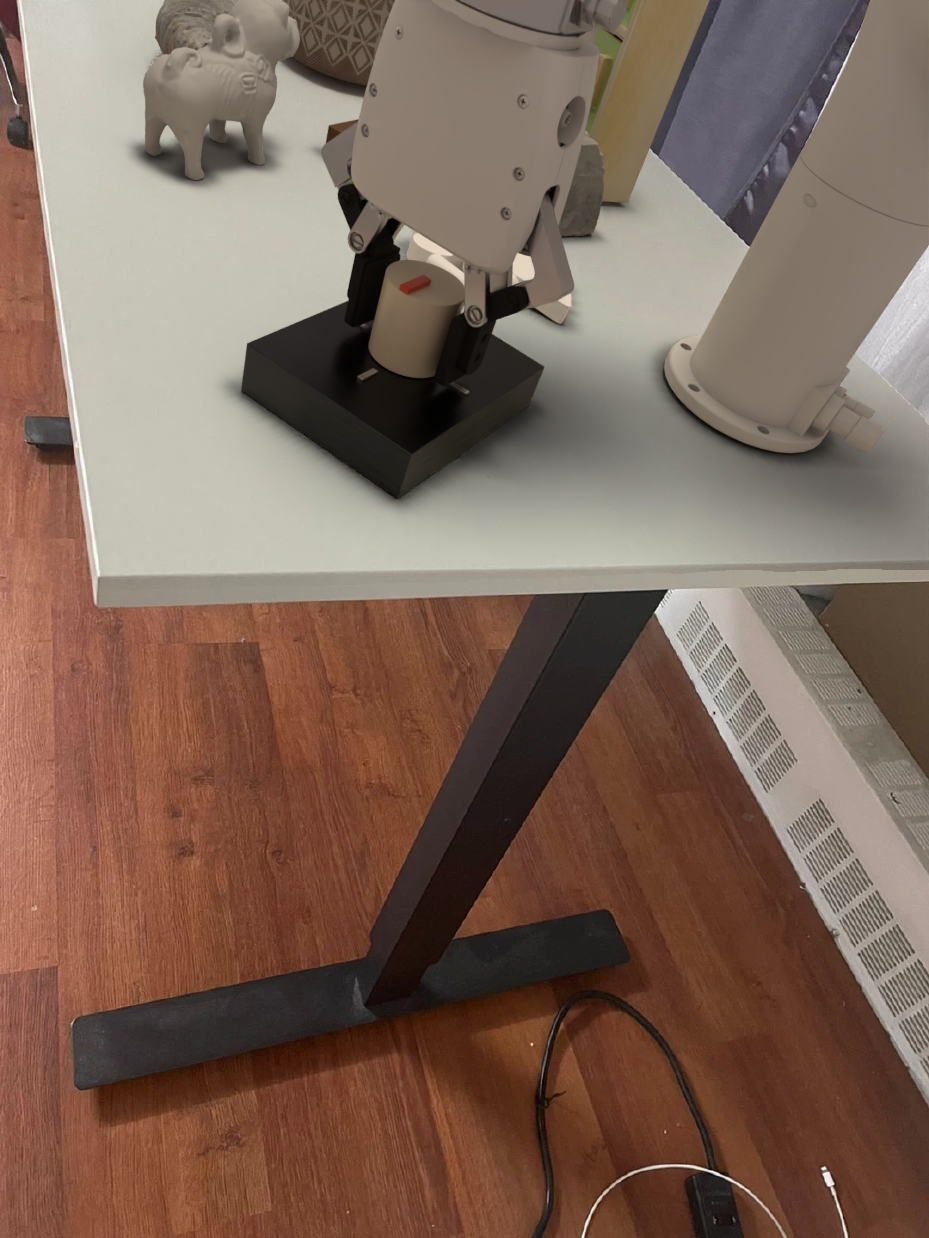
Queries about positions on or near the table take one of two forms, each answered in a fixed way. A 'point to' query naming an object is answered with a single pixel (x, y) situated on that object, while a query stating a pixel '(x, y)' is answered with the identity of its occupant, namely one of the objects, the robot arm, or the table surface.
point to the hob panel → (382, 398)
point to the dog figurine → (220, 81)
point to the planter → (340, 35)
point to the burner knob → (414, 317)
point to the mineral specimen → (584, 192)
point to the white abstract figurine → (440, 257)
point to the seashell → (188, 23)
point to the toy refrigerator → (637, 84)
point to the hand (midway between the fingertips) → (409, 344)
